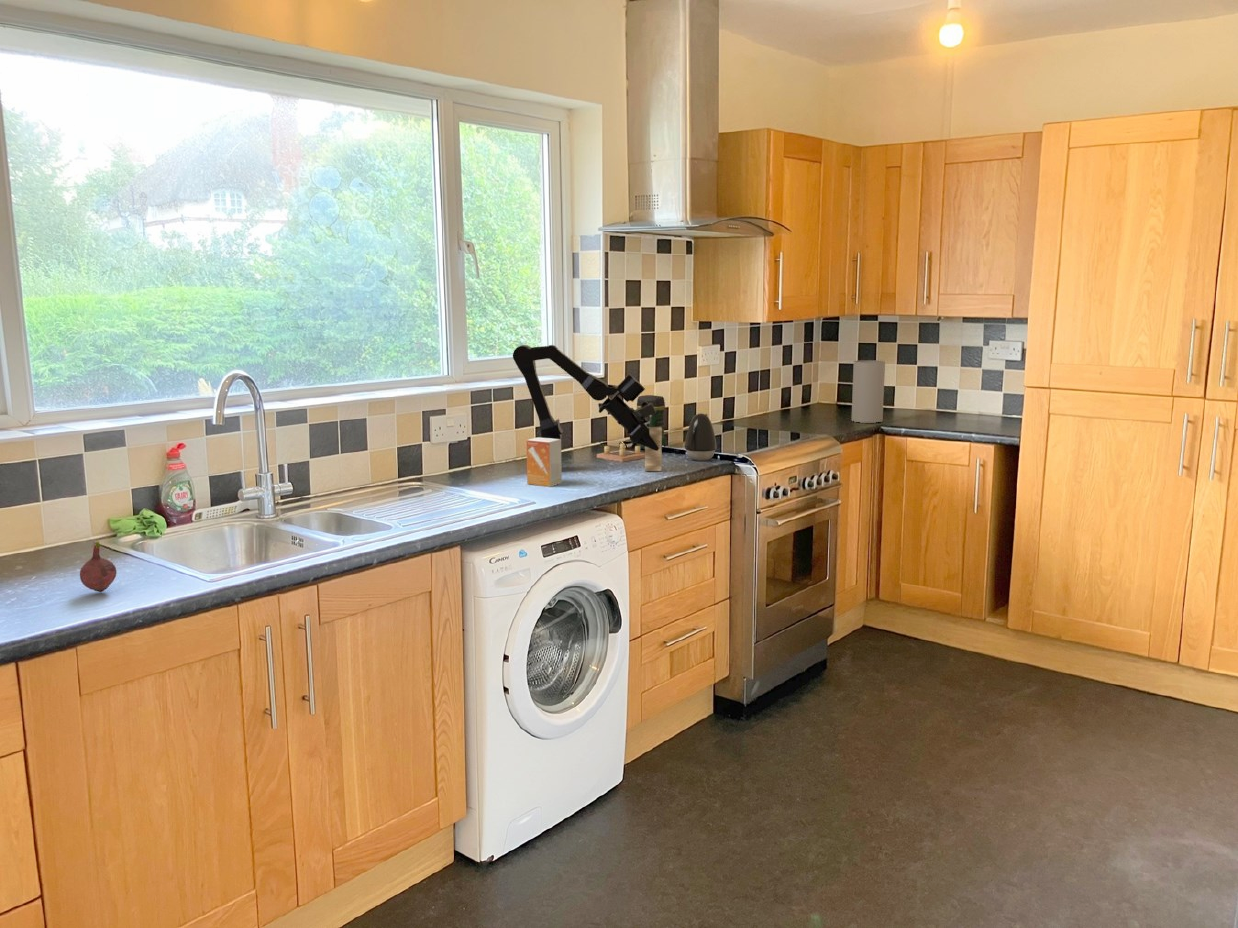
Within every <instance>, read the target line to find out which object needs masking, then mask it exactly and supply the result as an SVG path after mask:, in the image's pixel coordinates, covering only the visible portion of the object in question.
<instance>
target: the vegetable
mask: <svg viewBox="0 0 1238 928" xmlns="http://www.w3.org/2000/svg"><path fill="white" fill-rule="evenodd" d="M93 546H94V547H93V551H92V557H91V558H89V560H88V561H86V562H85V563H84V564H83V565H82V566H81V567H80V570H79V579H80V582H81V583H82V584H83V585H84V587H86V588H88V589H90V590H93V592H94V591H95V592H99V593H102V592H105V590H106V589H108V588H109V586H111V584H112V583H113V582H114V580H115V579H116V577H117V574H118V572H117V568H116V565H115V564H114V563H113V562H112V561H110V560H108V559H106V558H103V557H101V556H100V547H101V545H100V542H99V541H98V540H97V541H96V542H95V544H94V545H93Z"/></svg>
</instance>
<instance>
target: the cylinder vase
mask: <svg viewBox="0 0 1238 928" xmlns="http://www.w3.org/2000/svg"><path fill="white" fill-rule="evenodd" d="M885 370H886V361H884V360H873V359H870V360H869V359H868V360H866V359H865V360H862V359H860V360H853V369H852V371H853V372H852V373H853V374H852V395H851V397H852V398H851V399H852V400H851V402H852V403H851V422H853V421H854V422H853V423H856V422H860V423H859V424H865V423H874V424H877V423H876V422H881V423H883V419H884V418H883V416H884V399H885V398H884V397H885V395H884V394H885V376H886V375H885V373H886V372H885Z"/></svg>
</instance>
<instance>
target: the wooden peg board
mask: <svg viewBox="0 0 1238 928" xmlns="http://www.w3.org/2000/svg"><path fill="white" fill-rule="evenodd" d="M603 447H604V448H603V450H604V452H601V453H596V458H597V459H604V460H610V461H615V462H620V463H623V462H624V463H626V462H629V461H635V460H639V459H645V452H641V448H640V446H637V445H635V446H634V451H633V450H627V449H626V443H619V449H618V450H612V451H611V446H609V445H605V446H604V445H603Z"/></svg>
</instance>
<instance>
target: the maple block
mask: <svg viewBox="0 0 1238 928" xmlns="http://www.w3.org/2000/svg"><path fill="white" fill-rule="evenodd" d="M648 428H649V434H650V436H651V437H652V439H653V440H654V442H655V443H656V444H657V446H658V447H659V449H658V450H657V451H656V450H653V449H651V448H648V447H646V446H645V449H644V453H645V458H644V471H645V472H662V449H663V448H662V427H648Z"/></svg>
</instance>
